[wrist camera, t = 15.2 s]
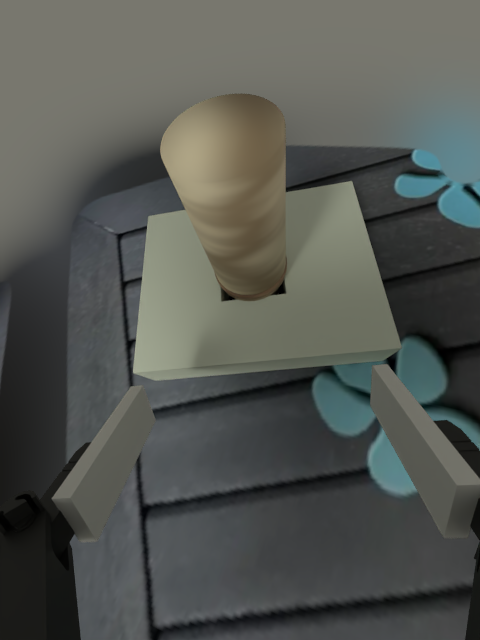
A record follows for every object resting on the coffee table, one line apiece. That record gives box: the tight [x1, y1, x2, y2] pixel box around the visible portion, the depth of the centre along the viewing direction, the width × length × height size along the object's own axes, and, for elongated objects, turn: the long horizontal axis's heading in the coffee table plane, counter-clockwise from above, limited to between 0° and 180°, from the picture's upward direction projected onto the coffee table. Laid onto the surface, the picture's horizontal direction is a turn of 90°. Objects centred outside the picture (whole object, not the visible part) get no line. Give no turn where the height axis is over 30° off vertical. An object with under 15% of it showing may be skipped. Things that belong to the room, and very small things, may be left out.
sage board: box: [133, 181, 402, 381], centre depth 24 cm, size 20×16×4 cm
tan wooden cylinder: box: [160, 94, 287, 301], centre depth 19 cm, size 6×6×15 cm
